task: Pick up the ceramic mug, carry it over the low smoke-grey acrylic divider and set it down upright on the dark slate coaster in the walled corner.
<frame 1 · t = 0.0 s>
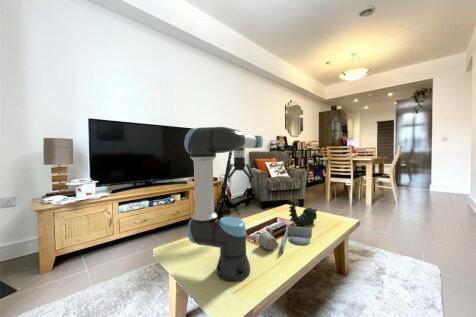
hand: (239, 187, 141), 28 cm above the table, fingers open, 13 cm apart
slate coaster: (299, 240, 120), on the table
ceramic mug: (269, 247, 113), on the table
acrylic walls: (285, 244, 116), on the table
toy figurine: (304, 224, 145), on the table
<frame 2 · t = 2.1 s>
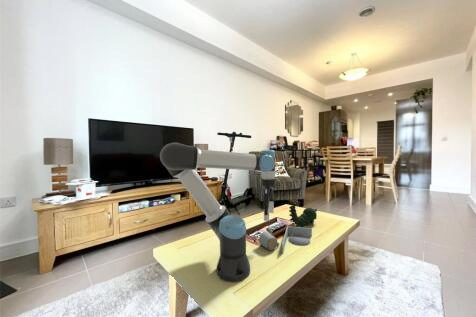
hand: (269, 216, 112), 17 cm above the table, fingers open, 13 cm apart
nothing on the table moved.
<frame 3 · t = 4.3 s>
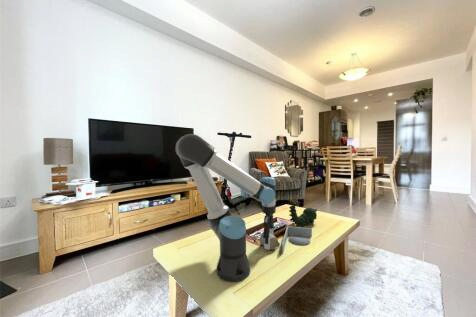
hand: (269, 244, 113), 1 cm above the table, fingers closed on ceramic mug, 11 cm apart
ceramic mug: (270, 246, 113), on the table, touching gripper
everything else where it was.
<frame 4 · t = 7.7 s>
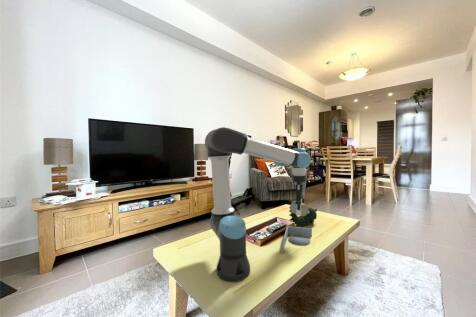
hand: (299, 212, 119), 17 cm above the table, fingers closed on ceramic mug, 11 cm apart
ceramic mug: (300, 214, 120), point 15 cm above the table, touching gripper
everything else where it was.
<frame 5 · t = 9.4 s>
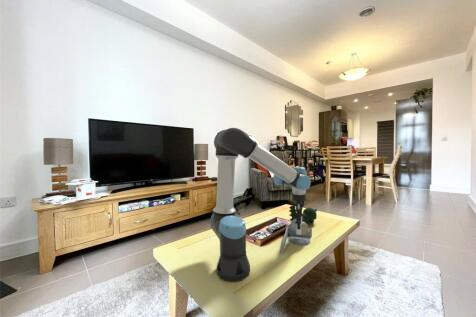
hand: (299, 230, 120), 6 cm above the table, fingers closed on ceramic mug, 11 cm apart
ceramic mug: (300, 232, 120), point 4 cm above the table, touching gripper
everything else where it was.
when the fingers open (3 cm above the table, at t = 11.0 s): ceramic mug drops 1 cm, resting on slate coaster.
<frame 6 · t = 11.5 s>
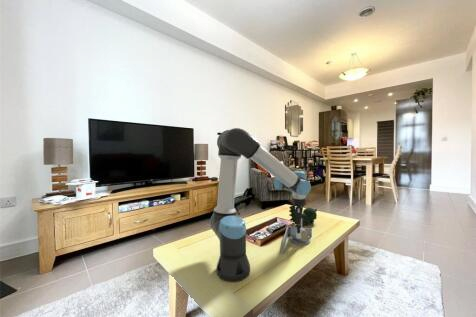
hand: (299, 233, 120), 4 cm above the table, fingers open, 13 cm apart
ceramic mug: (300, 239, 120), resting on slate coaster
everything else where it was.
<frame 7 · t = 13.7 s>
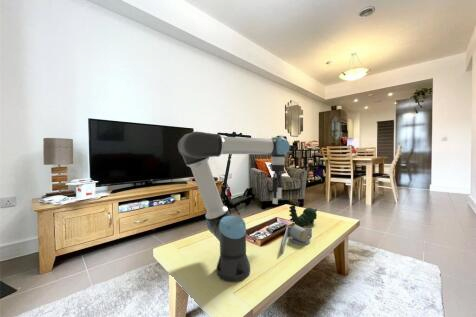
hand: (277, 200, 117), 24 cm above the table, fingers open, 13 cm apart
nothing on the table moved.
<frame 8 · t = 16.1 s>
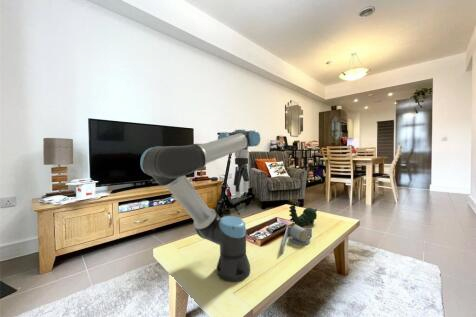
hand: (242, 194, 116), 29 cm above the table, fingers open, 13 cm apart
nothing on the table moved.
at the end: ceramic mug inside the target area on the slate coaster (1.2 cm from its centre), point 0.4 cm above the slate coaster's base; ceramic mug tilted 0°; the gripper is holding nothing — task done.
